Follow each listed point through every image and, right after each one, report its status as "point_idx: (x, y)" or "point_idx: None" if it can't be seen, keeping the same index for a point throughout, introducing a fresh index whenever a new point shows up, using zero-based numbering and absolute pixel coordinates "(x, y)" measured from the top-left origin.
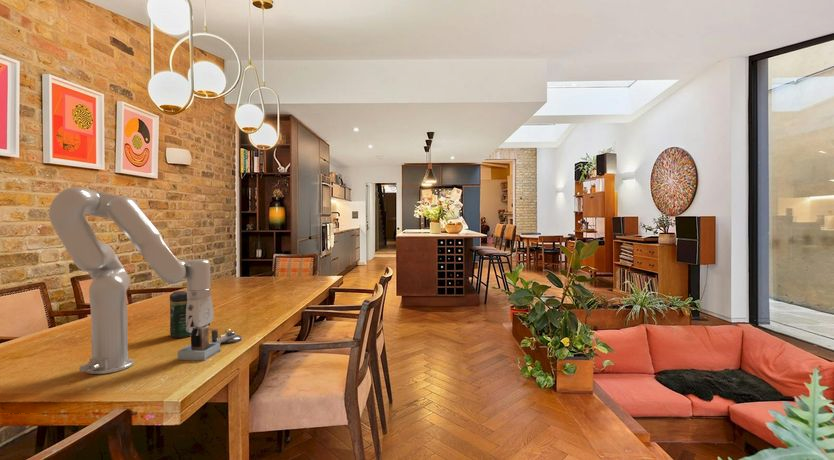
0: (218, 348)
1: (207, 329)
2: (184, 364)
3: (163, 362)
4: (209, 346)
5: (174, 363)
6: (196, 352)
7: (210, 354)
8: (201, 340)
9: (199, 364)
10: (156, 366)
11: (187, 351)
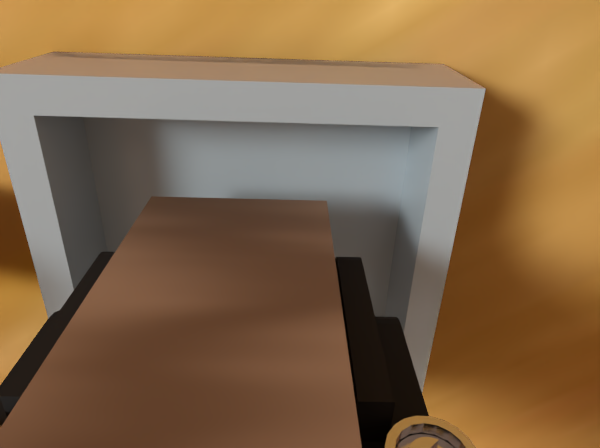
0: (74, 61)
1: (44, 444)
2: (557, 227)
3: (464, 418)
4: (81, 216)
5: (506, 329)
6: (452, 217)
7: (307, 65)
8: (338, 299)
9: (596, 50)
10: (563, 415)
11: (433, 334)
